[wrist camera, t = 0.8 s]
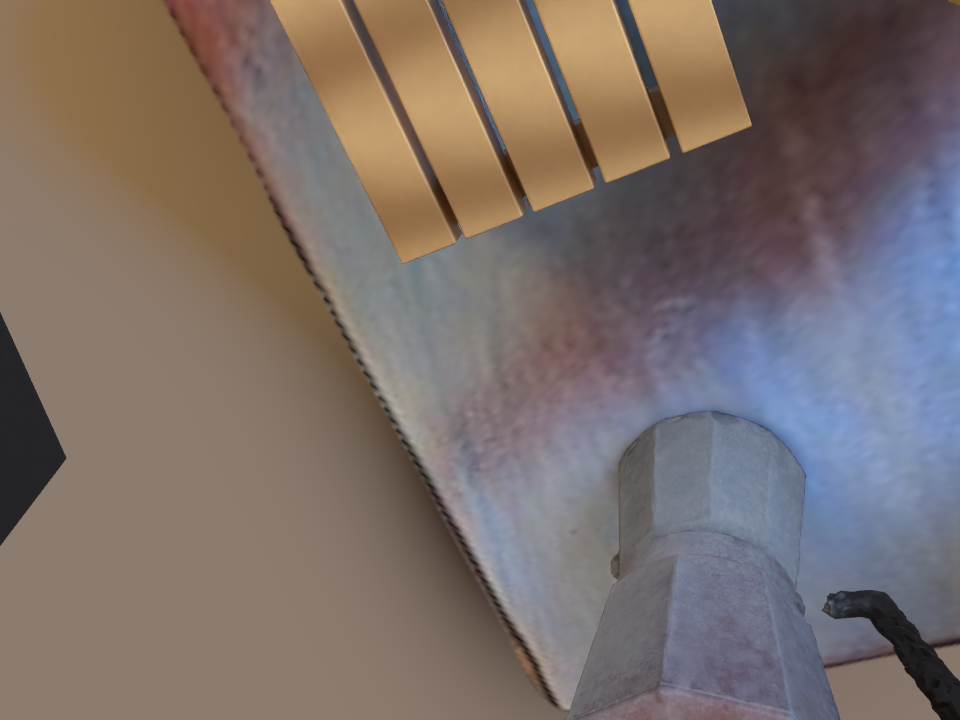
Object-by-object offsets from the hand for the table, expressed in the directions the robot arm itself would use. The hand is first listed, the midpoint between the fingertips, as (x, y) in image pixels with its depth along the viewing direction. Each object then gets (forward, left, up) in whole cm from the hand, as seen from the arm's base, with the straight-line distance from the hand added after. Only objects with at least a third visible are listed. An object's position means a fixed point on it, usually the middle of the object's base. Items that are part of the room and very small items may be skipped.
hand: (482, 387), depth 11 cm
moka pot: (+18, +7, -26) cm, 32 cm away
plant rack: (-4, -4, -26) cm, 26 cm away
